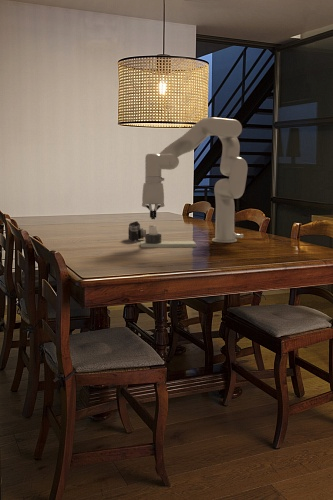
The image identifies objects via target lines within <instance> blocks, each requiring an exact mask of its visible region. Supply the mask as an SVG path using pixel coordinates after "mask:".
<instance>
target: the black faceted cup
mask: <svg viewBox="0 0 333 500" xmlns="http://www.w3.org/2000/svg"><path fill="white" fill-rule="evenodd" d="M144 241H145V243H148V244H159V243H161V241H162V233H158V235H149V233H146V234H145V237H144Z"/></svg>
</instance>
